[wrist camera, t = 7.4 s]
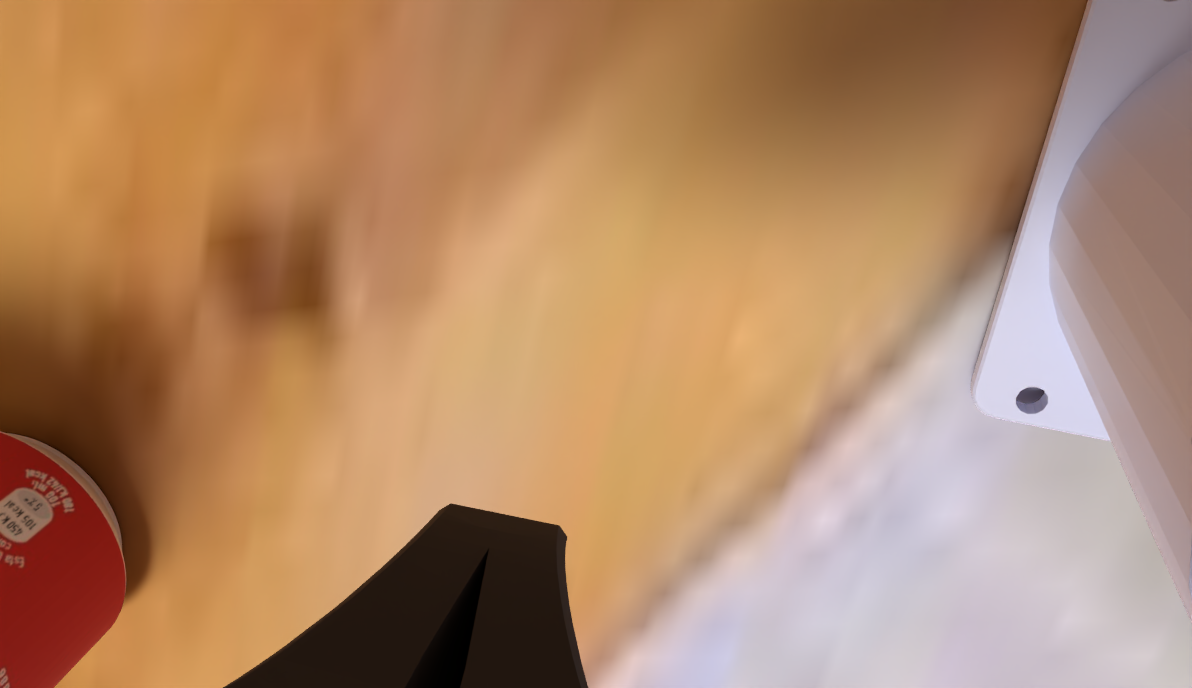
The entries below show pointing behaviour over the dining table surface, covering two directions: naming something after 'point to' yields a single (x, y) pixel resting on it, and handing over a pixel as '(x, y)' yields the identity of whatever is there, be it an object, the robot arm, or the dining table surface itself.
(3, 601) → the beverage can
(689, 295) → the dining table surface
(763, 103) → the dining table surface
